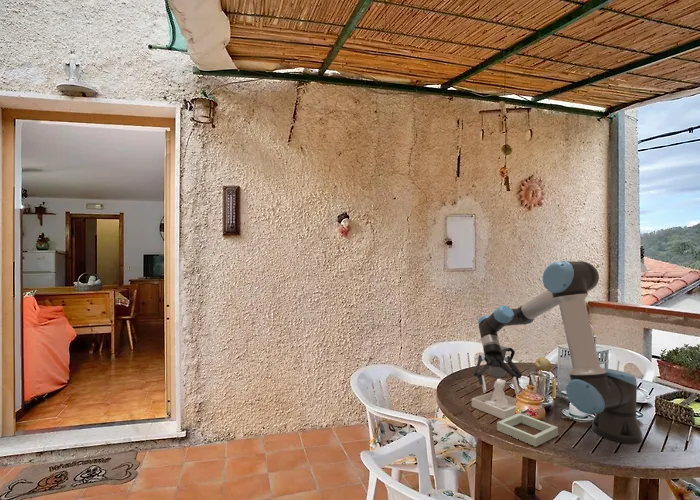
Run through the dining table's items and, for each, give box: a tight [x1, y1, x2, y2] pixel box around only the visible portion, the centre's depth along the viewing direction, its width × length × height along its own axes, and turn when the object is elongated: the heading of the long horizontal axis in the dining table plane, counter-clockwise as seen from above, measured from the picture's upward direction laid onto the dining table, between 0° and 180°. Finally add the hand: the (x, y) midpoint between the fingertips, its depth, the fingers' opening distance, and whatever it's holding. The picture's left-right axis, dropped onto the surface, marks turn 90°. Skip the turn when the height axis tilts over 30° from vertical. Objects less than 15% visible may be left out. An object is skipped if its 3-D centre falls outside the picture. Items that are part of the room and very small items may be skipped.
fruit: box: [534, 357, 552, 372], centre depth 218 cm, size 8×8×8 cm
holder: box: [496, 413, 559, 448], centre depth 144 cm, size 15×15×3 cm
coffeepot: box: [488, 345, 516, 379], centre depth 211 cm, size 15×9×18 cm, turn 59°
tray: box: [471, 390, 517, 420], centre depth 166 cm, size 16×16×4 cm
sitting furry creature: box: [485, 378, 508, 409], centre depth 166 cm, size 10×9×12 cm
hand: (501, 392), depth 164 cm, fingers open, 13 cm apart
